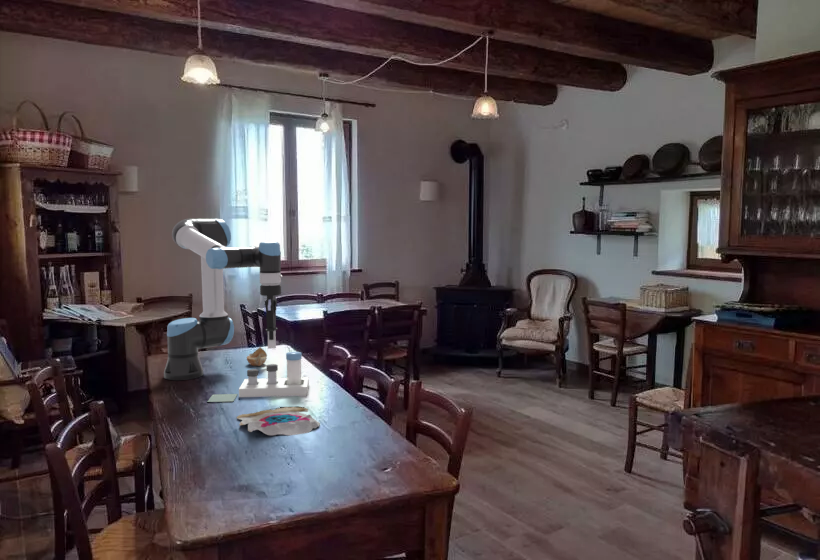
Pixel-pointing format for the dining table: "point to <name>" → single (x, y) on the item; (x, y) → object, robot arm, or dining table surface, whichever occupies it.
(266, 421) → the rumpled printed cloth
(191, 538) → the dining table surface
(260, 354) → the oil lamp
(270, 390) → the white tube rack
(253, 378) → the plunger
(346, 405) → the dining table surface
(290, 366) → the cylinder
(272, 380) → the plunger
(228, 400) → the mat
